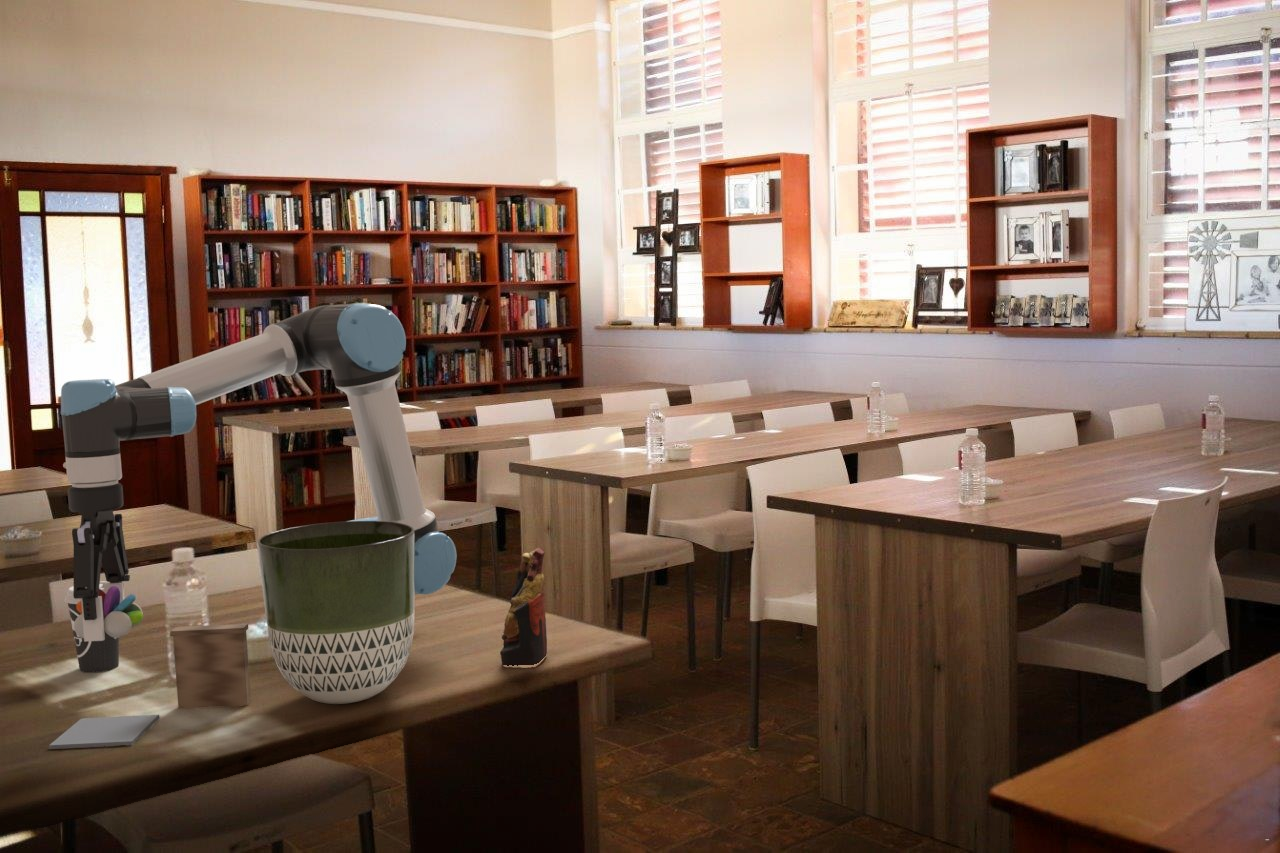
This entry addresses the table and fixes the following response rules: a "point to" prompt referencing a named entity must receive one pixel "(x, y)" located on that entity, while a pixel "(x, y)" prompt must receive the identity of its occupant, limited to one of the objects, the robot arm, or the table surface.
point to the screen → (211, 666)
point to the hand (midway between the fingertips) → (105, 632)
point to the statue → (526, 615)
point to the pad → (104, 731)
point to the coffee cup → (93, 643)
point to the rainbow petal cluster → (114, 614)
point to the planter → (339, 606)
